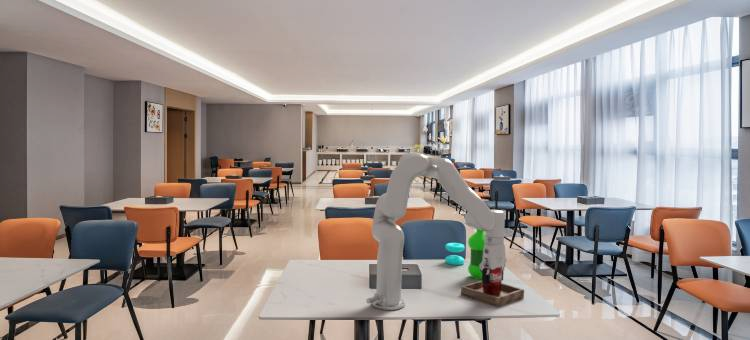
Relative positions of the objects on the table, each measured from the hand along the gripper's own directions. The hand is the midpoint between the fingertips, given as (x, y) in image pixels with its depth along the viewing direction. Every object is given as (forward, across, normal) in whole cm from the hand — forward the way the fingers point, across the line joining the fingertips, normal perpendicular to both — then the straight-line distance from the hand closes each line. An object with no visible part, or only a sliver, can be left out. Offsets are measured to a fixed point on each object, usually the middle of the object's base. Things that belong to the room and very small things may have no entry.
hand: (492, 281), depth 188 cm
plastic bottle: (+6, +17, +20) cm, 27 cm away
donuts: (+6, +28, +44) cm, 52 cm away
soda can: (+5, 0, 0) cm, 5 cm away
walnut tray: (+6, 0, 0) cm, 6 cm away
